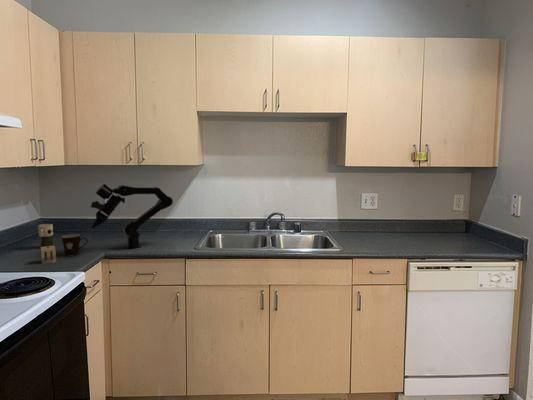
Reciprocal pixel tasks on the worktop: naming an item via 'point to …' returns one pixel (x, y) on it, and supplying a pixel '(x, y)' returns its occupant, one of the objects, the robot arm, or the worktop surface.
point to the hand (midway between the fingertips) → (92, 227)
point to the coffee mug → (72, 244)
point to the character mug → (46, 234)
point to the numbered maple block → (48, 254)
